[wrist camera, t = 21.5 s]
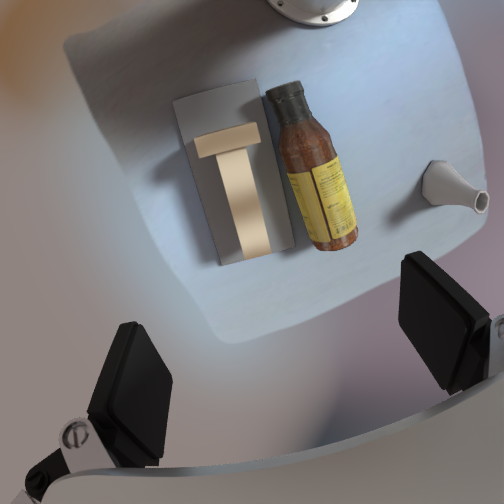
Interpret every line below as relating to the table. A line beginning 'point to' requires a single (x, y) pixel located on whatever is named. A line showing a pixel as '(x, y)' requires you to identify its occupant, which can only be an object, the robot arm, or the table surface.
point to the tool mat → (260, 158)
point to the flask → (451, 188)
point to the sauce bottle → (313, 170)
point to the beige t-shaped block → (239, 183)
